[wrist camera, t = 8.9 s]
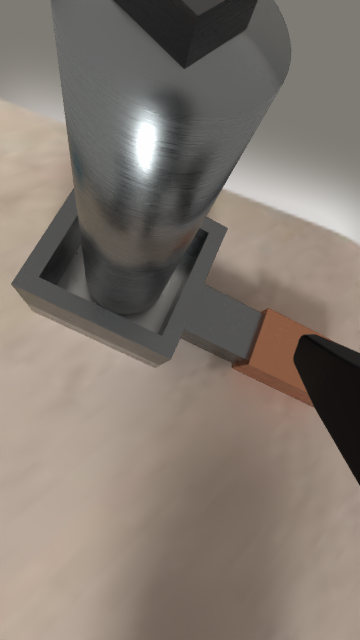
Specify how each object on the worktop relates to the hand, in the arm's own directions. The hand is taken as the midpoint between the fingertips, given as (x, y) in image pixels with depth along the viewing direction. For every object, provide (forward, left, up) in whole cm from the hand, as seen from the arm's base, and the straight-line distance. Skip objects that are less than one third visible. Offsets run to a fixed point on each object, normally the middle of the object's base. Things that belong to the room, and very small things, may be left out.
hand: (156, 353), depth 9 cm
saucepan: (+5, -3, -10) cm, 11 cm away
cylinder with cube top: (+5, +3, -8) cm, 10 cm away
